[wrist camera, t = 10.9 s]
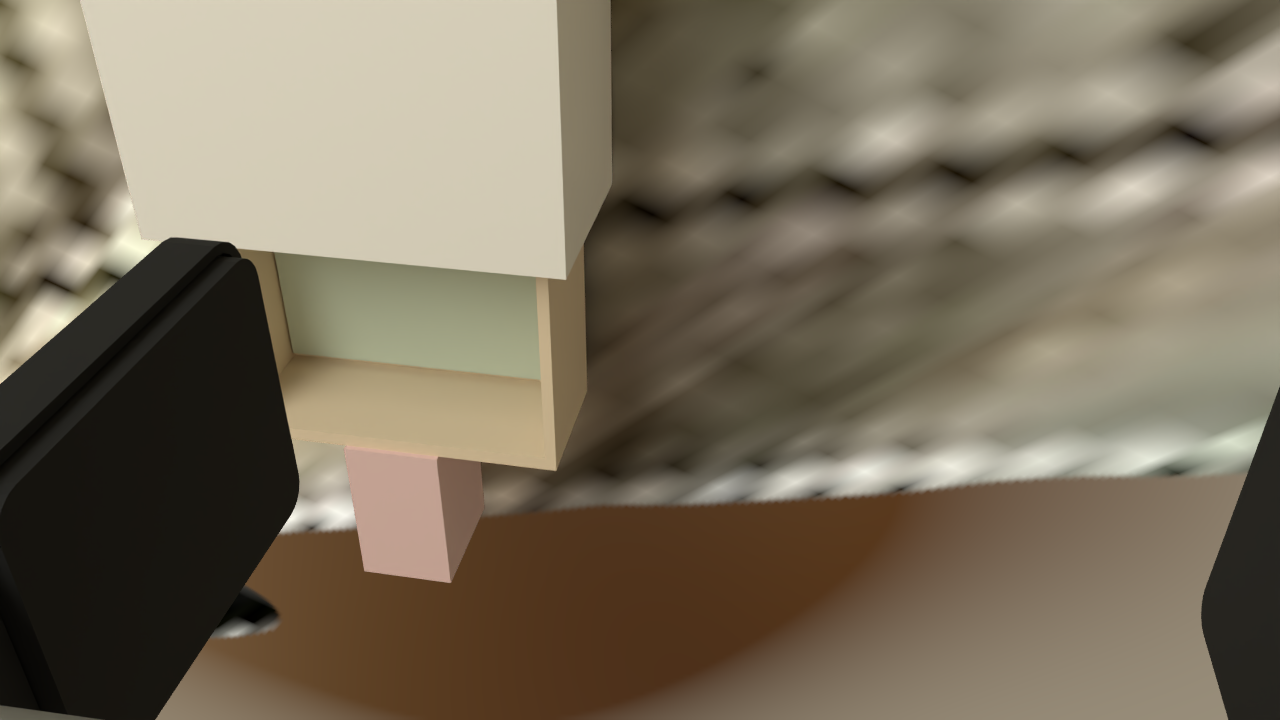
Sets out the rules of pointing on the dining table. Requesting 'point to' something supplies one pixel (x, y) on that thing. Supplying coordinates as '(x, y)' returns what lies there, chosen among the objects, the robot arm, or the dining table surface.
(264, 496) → the robot arm
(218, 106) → the cream block
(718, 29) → the dining table surface
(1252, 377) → the dining table surface
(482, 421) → the tray
